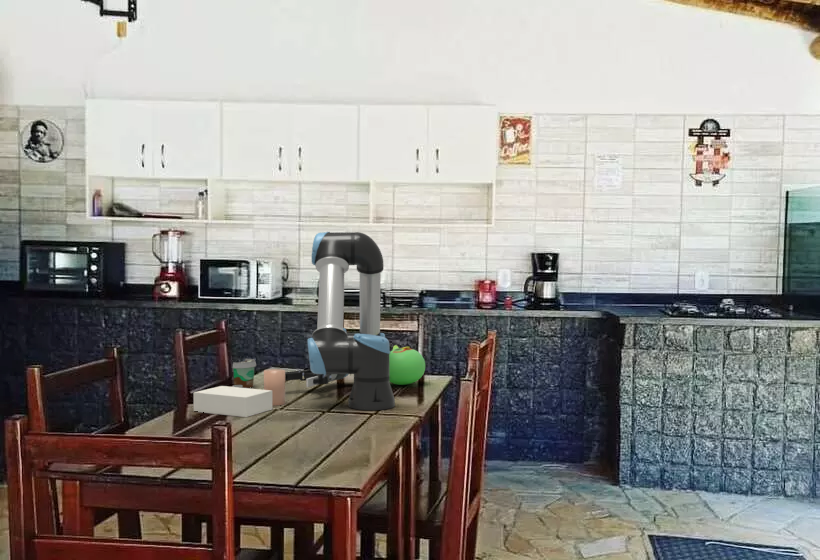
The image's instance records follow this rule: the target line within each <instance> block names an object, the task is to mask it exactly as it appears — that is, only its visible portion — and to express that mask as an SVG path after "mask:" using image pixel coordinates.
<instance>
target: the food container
mask: <svg viewBox="0 0 820 560" xmlns="http://www.w3.org/2000/svg"><path fill="white" fill-rule="evenodd" d="M256 367H257V363H256V360H255V359H254V358H253V359H252V358H245V359H244V361H239V362H234V361H233V362H232V369H233V370H232V371H233V387H239V388H250V387H253V388H254V380H255V368H256ZM250 389H251V388H250Z"/></svg>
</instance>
